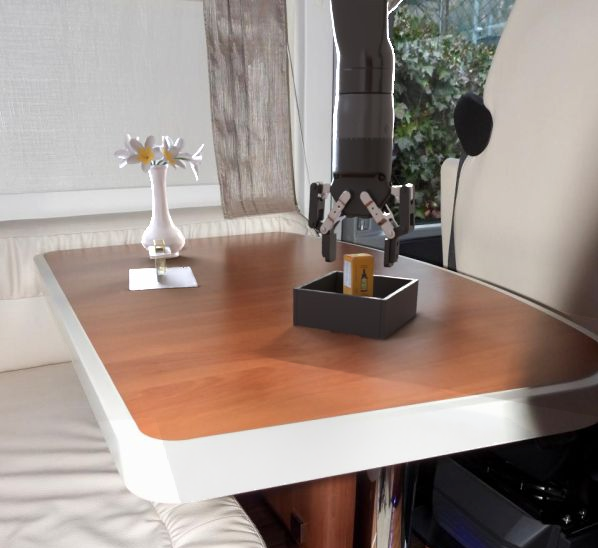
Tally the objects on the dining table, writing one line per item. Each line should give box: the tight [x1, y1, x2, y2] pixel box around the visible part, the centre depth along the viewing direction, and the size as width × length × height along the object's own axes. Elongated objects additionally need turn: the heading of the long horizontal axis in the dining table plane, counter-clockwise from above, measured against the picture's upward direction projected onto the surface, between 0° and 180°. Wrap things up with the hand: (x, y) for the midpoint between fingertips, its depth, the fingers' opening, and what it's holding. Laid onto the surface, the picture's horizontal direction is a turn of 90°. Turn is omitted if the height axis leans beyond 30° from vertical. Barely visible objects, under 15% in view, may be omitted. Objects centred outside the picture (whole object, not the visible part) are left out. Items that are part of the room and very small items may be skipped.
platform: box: [129, 240, 199, 291], centre depth 120 cm, size 12×18×7 cm, turn 14°
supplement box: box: [343, 252, 375, 297], centre depth 88 cm, size 3×4×10 cm
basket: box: [292, 270, 420, 340], centre depth 89 cm, size 13×13×7 cm
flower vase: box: [113, 133, 205, 260], centre depth 137 cm, size 13×18×25 cm
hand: (358, 263), depth 87 cm, fingers open, 8 cm apart
